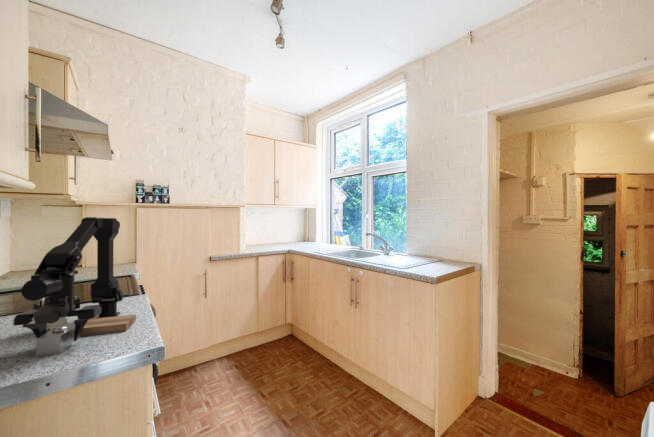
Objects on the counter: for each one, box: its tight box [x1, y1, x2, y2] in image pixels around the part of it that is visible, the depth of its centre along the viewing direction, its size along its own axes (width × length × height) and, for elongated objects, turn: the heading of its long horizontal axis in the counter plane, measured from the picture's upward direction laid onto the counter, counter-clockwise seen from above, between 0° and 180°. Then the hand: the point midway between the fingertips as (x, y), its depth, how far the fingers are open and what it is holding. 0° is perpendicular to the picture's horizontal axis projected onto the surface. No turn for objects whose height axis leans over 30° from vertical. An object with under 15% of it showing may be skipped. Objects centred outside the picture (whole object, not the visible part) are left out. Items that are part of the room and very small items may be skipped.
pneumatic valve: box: [32, 295, 81, 331], centre depth 95 cm, size 6×12×12 cm, turn 135°
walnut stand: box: [79, 314, 137, 337], centre depth 95 cm, size 10×16×2 cm, turn 110°
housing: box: [35, 323, 75, 357], centre depth 81 cm, size 11×5×6 cm, turn 21°
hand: (59, 342), depth 81 cm, fingers open, 8 cm apart
